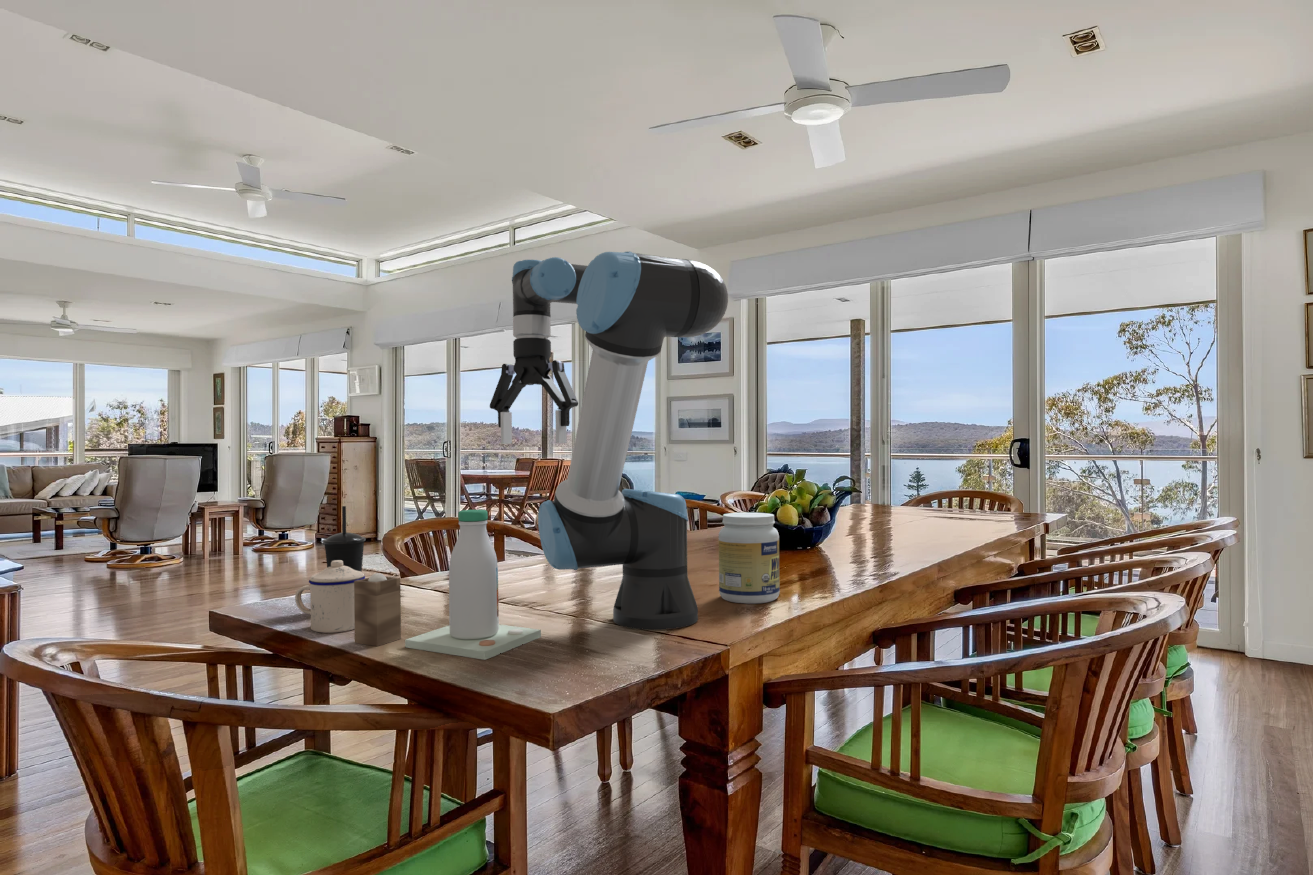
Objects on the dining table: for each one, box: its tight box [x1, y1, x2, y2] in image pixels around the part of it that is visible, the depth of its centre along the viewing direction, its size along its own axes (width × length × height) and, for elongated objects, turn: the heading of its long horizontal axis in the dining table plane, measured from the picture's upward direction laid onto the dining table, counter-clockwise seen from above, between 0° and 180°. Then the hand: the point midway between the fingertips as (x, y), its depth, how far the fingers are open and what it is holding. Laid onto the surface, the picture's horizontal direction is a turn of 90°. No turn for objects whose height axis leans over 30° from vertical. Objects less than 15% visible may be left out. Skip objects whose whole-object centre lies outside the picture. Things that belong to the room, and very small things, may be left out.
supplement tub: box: [718, 512, 780, 604], centre depth 151 cm, size 12×12×17 cm
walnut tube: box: [354, 575, 402, 647], centre depth 122 cm, size 5×5×10 cm
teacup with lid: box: [294, 560, 366, 634], centre depth 132 cm, size 12×9×12 cm
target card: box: [404, 623, 542, 661], centre depth 121 cm, size 16×14×2 cm
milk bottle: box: [448, 509, 500, 639], centre depth 121 cm, size 8×8×20 cm
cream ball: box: [368, 572, 387, 582], centre depth 122 cm, size 3×3×3 cm
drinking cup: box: [322, 505, 366, 572], centre depth 146 cm, size 8×8×20 cm
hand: (533, 443), depth 152 cm, fingers open, 13 cm apart
